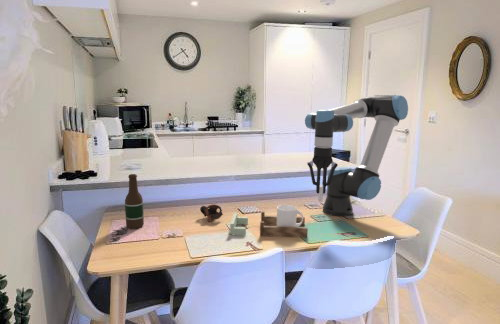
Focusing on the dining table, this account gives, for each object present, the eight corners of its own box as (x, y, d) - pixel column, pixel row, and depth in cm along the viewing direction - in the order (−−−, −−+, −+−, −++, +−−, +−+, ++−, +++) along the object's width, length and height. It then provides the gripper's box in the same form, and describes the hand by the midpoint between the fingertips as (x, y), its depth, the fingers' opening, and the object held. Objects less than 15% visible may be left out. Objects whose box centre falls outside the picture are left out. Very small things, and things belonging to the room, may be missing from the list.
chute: (304, 225, 166) (304, 212, 165) (307, 237, 151) (307, 224, 150) (261, 223, 167) (261, 211, 166) (260, 235, 153) (260, 222, 152)
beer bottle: (127, 230, 157) (124, 177, 153) (124, 224, 164) (122, 173, 160) (145, 227, 161) (143, 175, 157) (142, 222, 168) (139, 172, 163)
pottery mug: (225, 217, 177) (226, 206, 172) (217, 231, 170) (217, 219, 165) (203, 209, 180) (203, 197, 175) (194, 222, 173) (194, 211, 168)
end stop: (247, 223, 168) (247, 213, 167) (245, 235, 153) (245, 224, 152) (234, 222, 168) (234, 212, 167) (230, 234, 153) (230, 223, 153)
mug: (306, 233, 156) (306, 209, 154) (279, 235, 154) (280, 211, 152) (299, 226, 165) (300, 203, 163) (274, 227, 162) (274, 205, 160)
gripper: (337, 146, 155) (333, 198, 159) (306, 145, 156) (304, 197, 160) (340, 148, 148) (336, 203, 152) (308, 147, 148) (305, 202, 152)
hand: (320, 200), depth 156 cm, fingers closed
